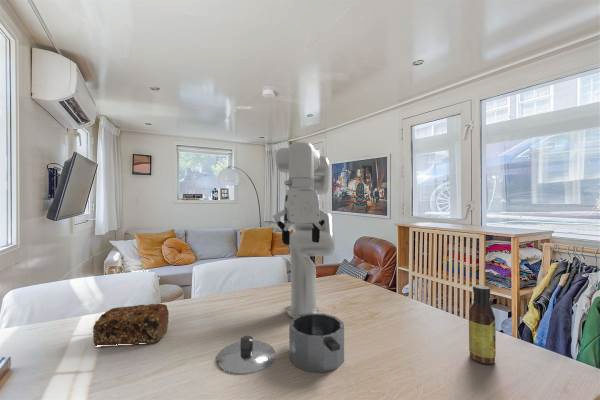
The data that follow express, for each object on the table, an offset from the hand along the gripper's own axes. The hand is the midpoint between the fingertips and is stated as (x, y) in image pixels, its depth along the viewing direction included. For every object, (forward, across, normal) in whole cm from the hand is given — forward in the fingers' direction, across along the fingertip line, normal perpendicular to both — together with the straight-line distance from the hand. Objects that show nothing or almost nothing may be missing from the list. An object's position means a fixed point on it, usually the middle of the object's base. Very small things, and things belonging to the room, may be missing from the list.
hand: (301, 243), depth 85 cm
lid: (+32, -15, +4) cm, 35 cm away
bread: (+31, -44, +30) cm, 62 cm away
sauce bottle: (+31, +42, -27) cm, 59 cm away
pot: (+31, +2, -5) cm, 32 cm away
